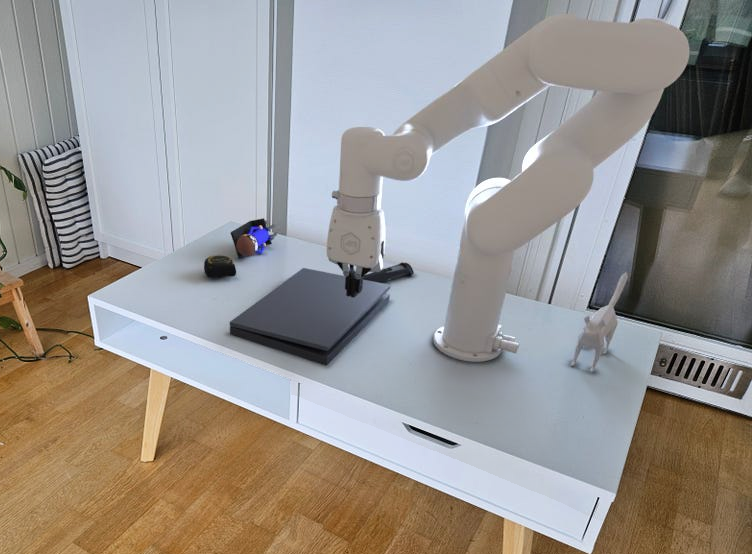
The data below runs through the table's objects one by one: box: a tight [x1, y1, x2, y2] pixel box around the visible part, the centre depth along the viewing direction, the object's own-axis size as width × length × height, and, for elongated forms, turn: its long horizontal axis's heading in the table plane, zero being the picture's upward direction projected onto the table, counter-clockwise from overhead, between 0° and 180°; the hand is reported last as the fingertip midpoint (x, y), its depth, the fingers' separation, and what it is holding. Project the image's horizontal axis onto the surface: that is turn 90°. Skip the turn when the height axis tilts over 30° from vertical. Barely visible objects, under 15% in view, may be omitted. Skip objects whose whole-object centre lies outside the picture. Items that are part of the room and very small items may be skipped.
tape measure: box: [203, 254, 237, 279], centre depth 145 cm, size 7×7×4 cm
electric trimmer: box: [363, 262, 415, 284], centre depth 145 cm, size 4×16×3 cm, turn 123°
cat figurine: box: [570, 271, 629, 374], centre depth 115 cm, size 4×20×14 cm, turn 142°
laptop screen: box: [229, 267, 391, 351], centre depth 129 cm, size 21×30×1 cm
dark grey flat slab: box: [229, 292, 391, 367], centre depth 130 cm, size 21×30×2 cm
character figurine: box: [230, 218, 278, 260], centre depth 156 cm, size 8×7×15 cm
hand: (353, 294), depth 123 cm, fingers closed
